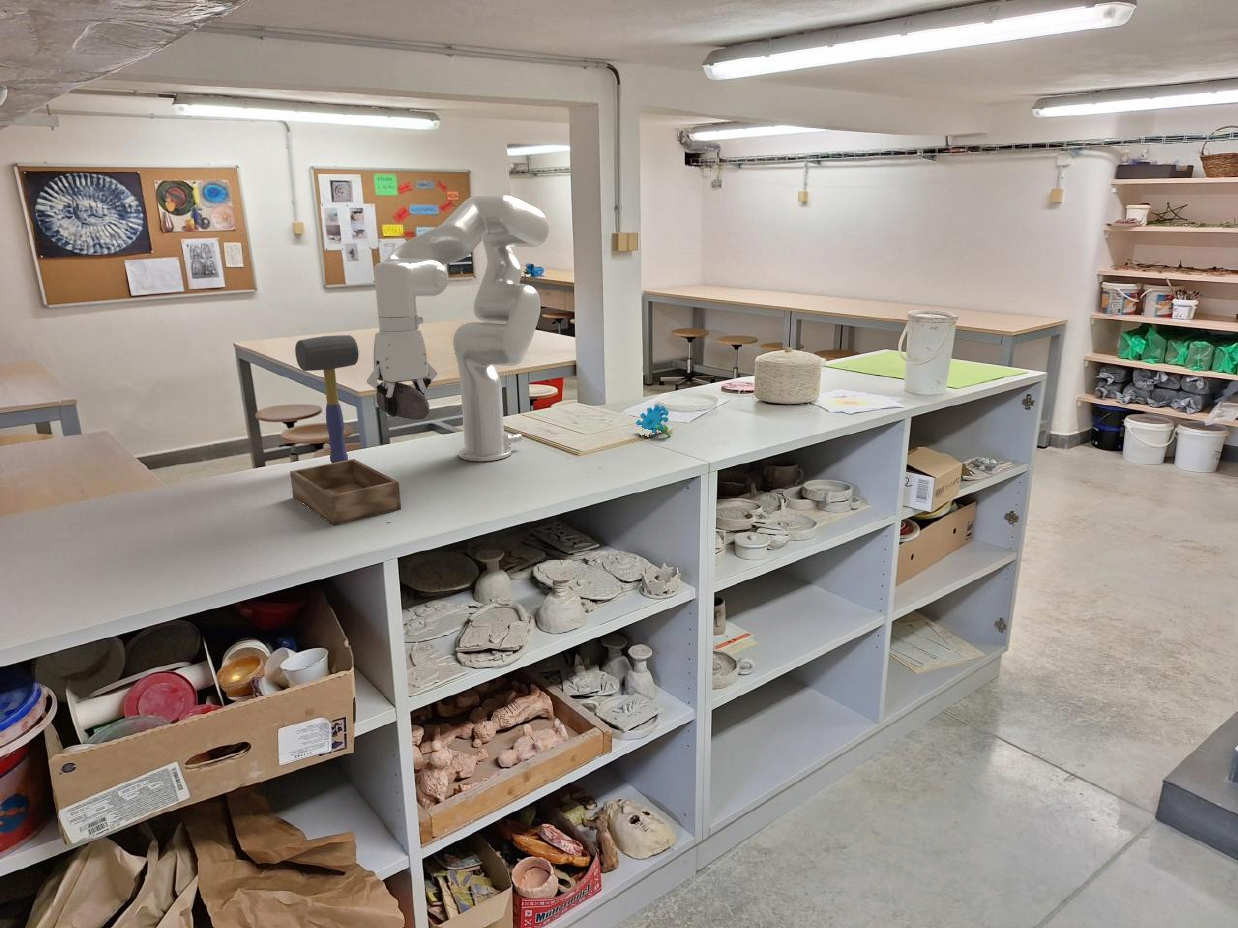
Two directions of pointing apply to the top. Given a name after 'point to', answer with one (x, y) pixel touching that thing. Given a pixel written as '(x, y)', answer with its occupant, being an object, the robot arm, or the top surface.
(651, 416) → the blue bumpy cluster
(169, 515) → the top surface
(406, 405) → the perforated stone tool
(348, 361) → the rubber mallet
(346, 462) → the box
